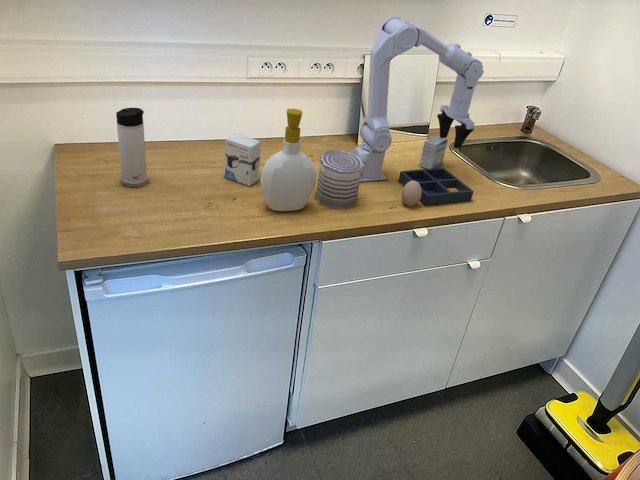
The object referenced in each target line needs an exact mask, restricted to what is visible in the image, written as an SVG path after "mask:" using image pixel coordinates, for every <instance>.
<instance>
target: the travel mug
mask: <svg viewBox="0 0 640 480" xmlns="http://www.w3.org/2000/svg"><path fill="white" fill-rule="evenodd" d="M144 113H145V112H144V110H143V109H142V108H139V107H126V108H122V109H120V110H118V111H116V113H115V114H116V116H115V117H116V129H117V130H116V131H117V139H118V151H119V161H120V173H121V182H122V184H123V185H124V186H125V187H128V188H141V187H143V186H145V185H147V183H148V174H147V173H148V172H147V171H148V170H147V156H146V144H145V143H146V142H145V140H146V139H145V127H144V116H143V115H144Z"/></svg>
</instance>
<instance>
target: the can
mask: <svg viewBox="0 0 640 480" xmlns="http://www.w3.org/2000/svg"><path fill="white" fill-rule="evenodd" d="M319 159H320V161H319V169H318V177H317V184H316V185H317V186H316V193H315V199H316V200H317V201H318V203H319V204H320V205H322V206H324V207H327V208H329V209H333V210H347V209H350V208H353V207H355V205H356V203H357V201H358V195H359V189H360V184H361V182H360V178H361V172H362V167H363V166H364V164H363V162H362V161H361V159H360V158H359V157H358V156H356V155H354V154H351V152H349V151H346V150H342V149H341V150H339V149H337V150H336V149H327V150H325V151H324V152H323V153H322V154H320V155H319Z"/></svg>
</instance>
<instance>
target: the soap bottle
mask: <svg viewBox="0 0 640 480" xmlns="http://www.w3.org/2000/svg"><path fill="white" fill-rule="evenodd" d="M302 116H303V111H302V110H301V109H298V108H287V109H286V117H287V118H286V119H287V126H285V130H284V131H285V133H284V138H283V141H282V142H283V143H282V150H280V151H278V152H275V153H274V154H272V155H271V156H270V157H269V158H268V159H267V161H266V162H265V164H264V166H263V167H262V170H261V176H260V179H259V181H260V192H261V195H262V197H263V200H264V202H265V203H266V205H267V207H268V208H269V209H270V210H272V211H276V212H292V211H293V212H295V211H299V210H302V209H303V208H305V206H306V205H307V203H308V202H309V200H310V199H311V196H312V195H313V193H314V190H315V187H316V183H317V171H316V168H315V165H314V162H313V160H312V159H311V158H309V156H307V154H306V153H304V152H301V150H300V149H301V142H302V141H301V139H300V138H301V128H300V124H301V120H302Z"/></svg>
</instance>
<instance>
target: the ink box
mask: <svg viewBox="0 0 640 480" xmlns="http://www.w3.org/2000/svg"><path fill="white" fill-rule="evenodd" d="M224 148H225V152H224V153H225V154H224V156H225V158H224V178H225V179H229V180H231V181H234V182H237V183H238V184H239V183H240V184H242V185H245V186H248V187H251V186H252V185H254V184H255V183H257V182H259V181H260V168H261V167H260V164H261V148H262V142H261V140H258V139H256V138H255V139H254V138H251V137H248V136H245V135H244V134H243V135H242V134H240V133H234V134H232V135H230V136H228V137H226V138H225V146H224Z"/></svg>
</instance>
